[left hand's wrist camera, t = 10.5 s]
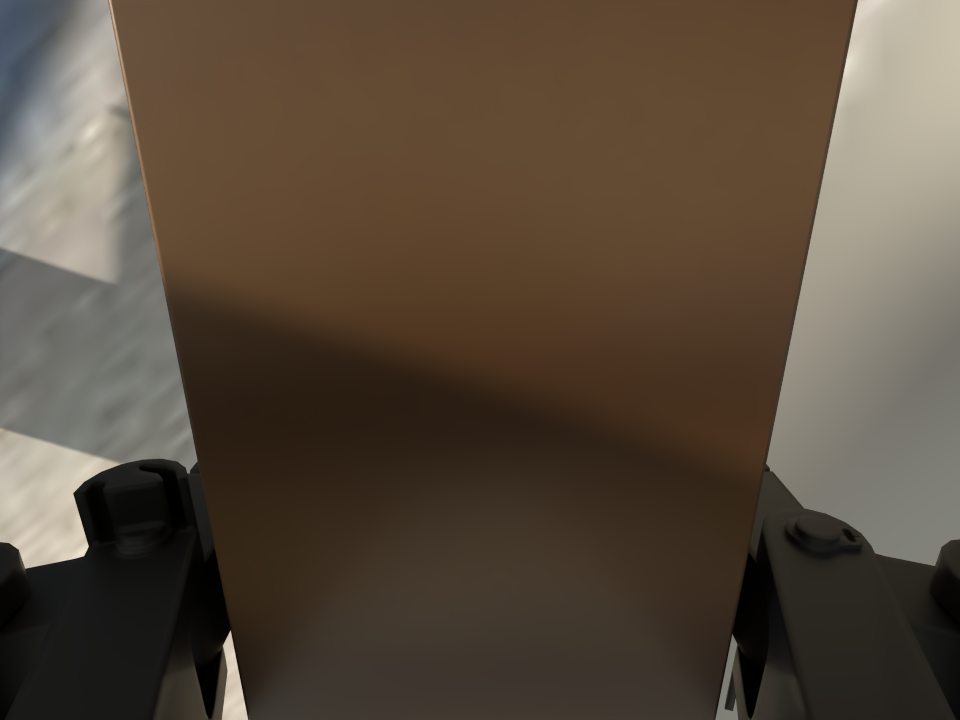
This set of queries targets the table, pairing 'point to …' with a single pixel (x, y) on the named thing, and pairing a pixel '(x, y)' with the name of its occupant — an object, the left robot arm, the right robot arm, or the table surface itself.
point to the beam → (482, 332)
